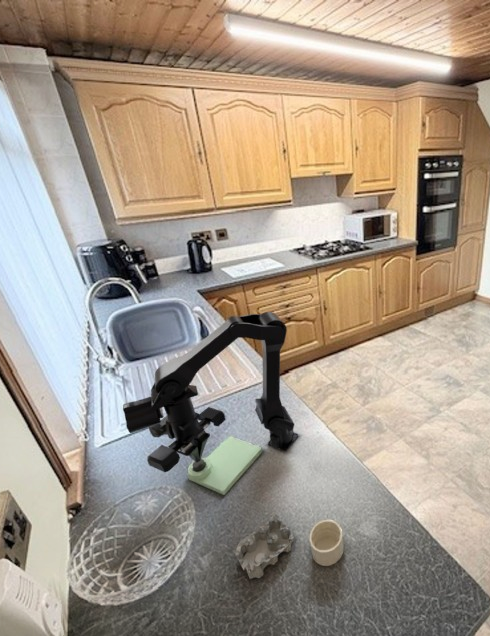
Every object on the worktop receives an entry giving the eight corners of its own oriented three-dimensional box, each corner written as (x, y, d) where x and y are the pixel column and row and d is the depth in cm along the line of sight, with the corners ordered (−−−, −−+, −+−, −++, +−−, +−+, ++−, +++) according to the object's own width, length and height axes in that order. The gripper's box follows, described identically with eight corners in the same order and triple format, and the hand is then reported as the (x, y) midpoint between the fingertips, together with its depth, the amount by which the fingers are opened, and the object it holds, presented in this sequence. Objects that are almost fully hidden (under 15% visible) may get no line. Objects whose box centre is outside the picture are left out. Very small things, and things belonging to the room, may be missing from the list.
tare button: (200, 461, 92) (198, 457, 91) (207, 465, 90) (206, 460, 90) (191, 469, 89) (189, 465, 89) (199, 473, 88) (197, 469, 88)
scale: (228, 438, 102) (226, 430, 101) (263, 451, 97) (261, 443, 96) (185, 479, 90) (182, 471, 89) (223, 496, 85) (220, 488, 84)
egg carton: (251, 586, 67) (247, 574, 65) (235, 557, 72) (230, 545, 70) (298, 546, 73) (295, 534, 72) (279, 522, 78) (276, 510, 77)
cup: (322, 529, 76) (320, 515, 74) (349, 541, 74) (347, 526, 72) (306, 559, 71) (303, 544, 69) (334, 573, 68) (332, 557, 66)
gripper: (188, 384, 93) (202, 428, 100) (121, 431, 78) (143, 480, 84) (220, 393, 89) (232, 439, 95) (155, 445, 73) (175, 495, 80)
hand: (197, 461), depth 89 cm, fingers closed
